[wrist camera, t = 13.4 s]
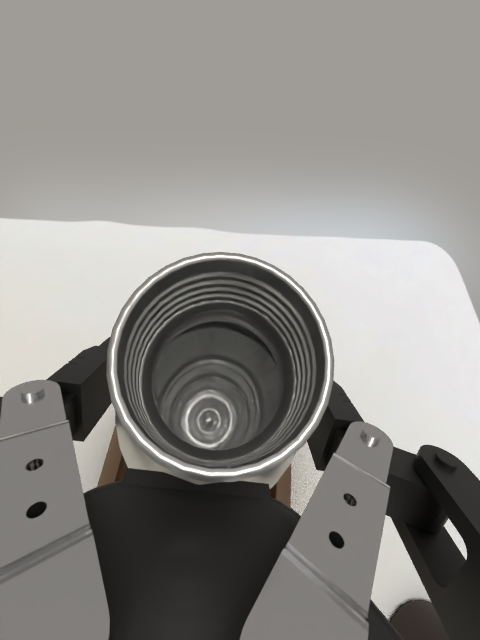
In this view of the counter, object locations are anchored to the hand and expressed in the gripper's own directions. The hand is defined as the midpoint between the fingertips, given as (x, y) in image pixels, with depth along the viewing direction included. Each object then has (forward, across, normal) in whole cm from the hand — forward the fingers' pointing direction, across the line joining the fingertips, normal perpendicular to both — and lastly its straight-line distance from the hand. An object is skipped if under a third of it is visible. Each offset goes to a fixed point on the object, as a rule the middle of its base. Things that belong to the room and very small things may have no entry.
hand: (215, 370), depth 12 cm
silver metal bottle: (+8, 0, +10) cm, 12 cm away
